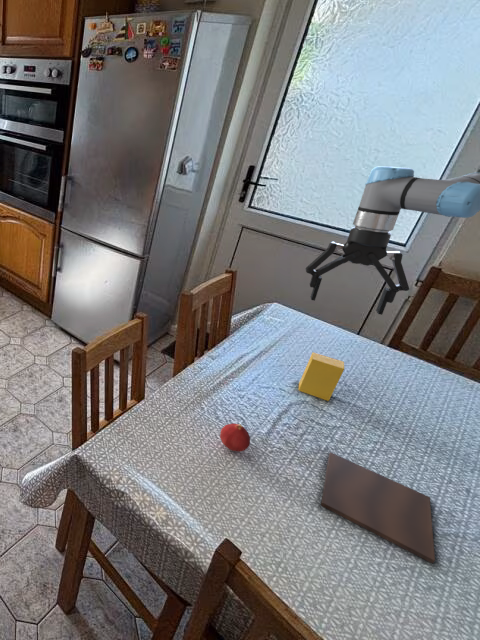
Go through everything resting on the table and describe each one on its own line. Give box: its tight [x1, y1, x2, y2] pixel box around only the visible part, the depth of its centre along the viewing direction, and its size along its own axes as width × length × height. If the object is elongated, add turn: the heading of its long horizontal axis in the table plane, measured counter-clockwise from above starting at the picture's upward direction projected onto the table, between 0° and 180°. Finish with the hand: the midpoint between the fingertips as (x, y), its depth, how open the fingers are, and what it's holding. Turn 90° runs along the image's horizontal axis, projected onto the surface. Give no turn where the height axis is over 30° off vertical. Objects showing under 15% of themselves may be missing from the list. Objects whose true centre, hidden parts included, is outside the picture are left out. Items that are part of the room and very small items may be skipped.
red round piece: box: [219, 422, 251, 452], centre depth 95 cm, size 6×6×8 cm
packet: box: [298, 352, 345, 402], centre depth 109 cm, size 6×4×11 cm, turn 52°
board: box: [320, 452, 436, 564], centre depth 84 cm, size 16×16×1 cm
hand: (344, 305), depth 110 cm, fingers open, 13 cm apart
